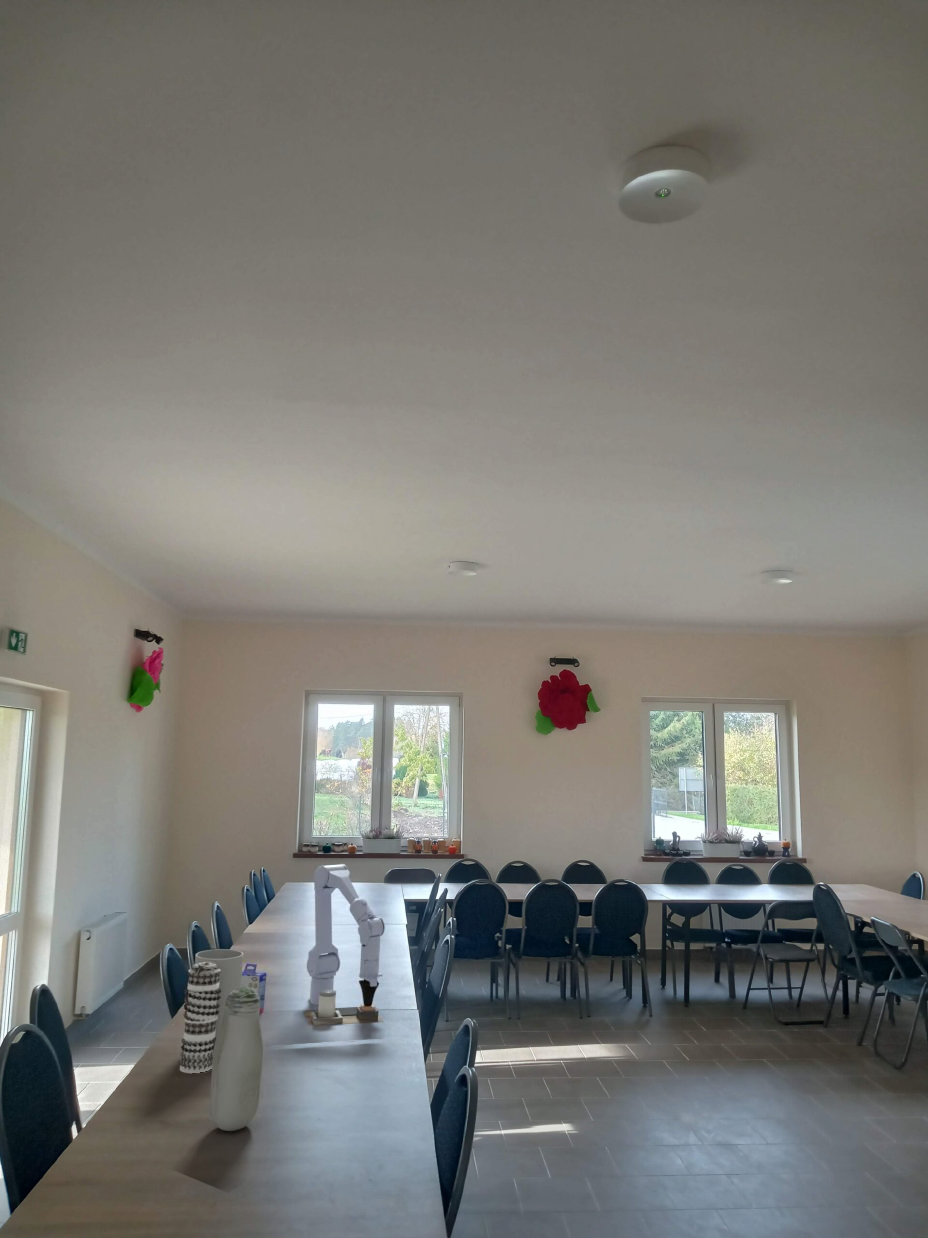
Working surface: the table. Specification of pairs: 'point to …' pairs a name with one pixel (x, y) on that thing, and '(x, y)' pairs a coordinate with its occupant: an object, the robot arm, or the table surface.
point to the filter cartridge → (327, 1004)
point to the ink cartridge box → (255, 982)
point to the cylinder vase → (224, 975)
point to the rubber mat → (347, 1011)
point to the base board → (343, 1018)
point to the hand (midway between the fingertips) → (367, 1006)
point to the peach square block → (367, 1008)
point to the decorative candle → (200, 1018)
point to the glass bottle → (237, 1062)
